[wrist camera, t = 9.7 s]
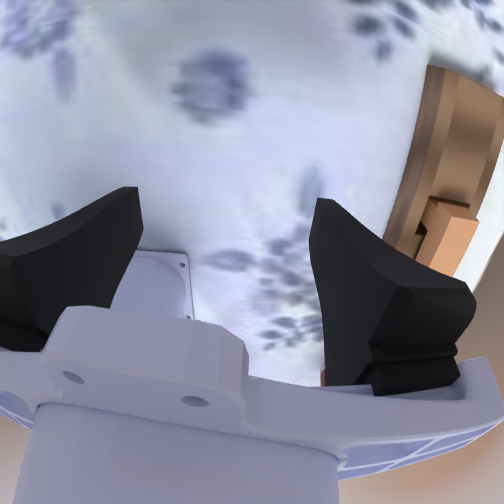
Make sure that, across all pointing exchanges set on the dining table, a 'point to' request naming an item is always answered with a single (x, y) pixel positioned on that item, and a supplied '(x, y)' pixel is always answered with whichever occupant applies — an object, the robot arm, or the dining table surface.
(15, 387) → the robot arm
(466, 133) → the rail
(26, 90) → the dining table surface
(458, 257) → the clip
